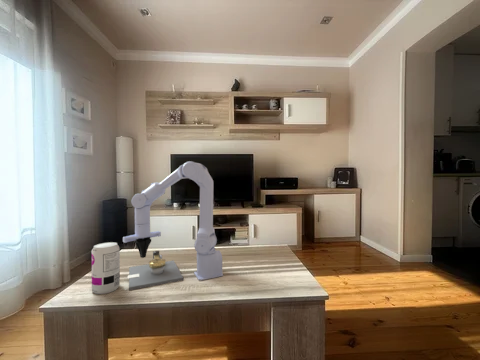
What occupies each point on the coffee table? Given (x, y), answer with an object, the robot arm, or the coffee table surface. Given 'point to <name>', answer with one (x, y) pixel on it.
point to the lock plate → (153, 275)
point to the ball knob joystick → (156, 261)
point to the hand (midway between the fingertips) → (142, 257)
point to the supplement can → (105, 267)
